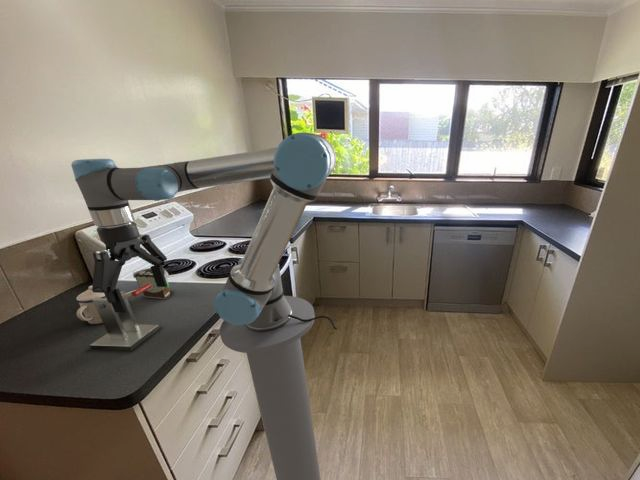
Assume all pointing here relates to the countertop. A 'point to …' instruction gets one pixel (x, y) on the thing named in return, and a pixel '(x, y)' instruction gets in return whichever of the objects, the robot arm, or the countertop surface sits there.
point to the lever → (137, 291)
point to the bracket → (120, 327)
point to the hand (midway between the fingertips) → (143, 298)
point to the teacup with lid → (89, 306)
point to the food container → (152, 284)
